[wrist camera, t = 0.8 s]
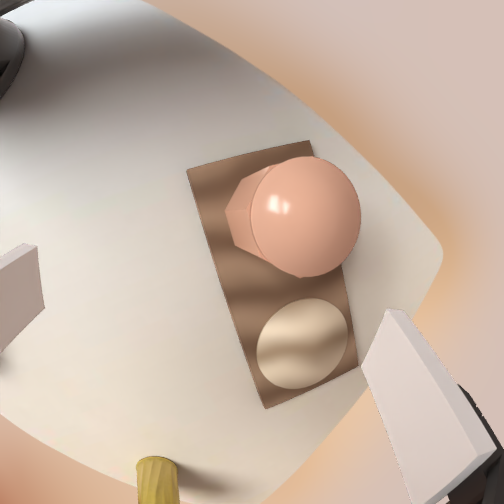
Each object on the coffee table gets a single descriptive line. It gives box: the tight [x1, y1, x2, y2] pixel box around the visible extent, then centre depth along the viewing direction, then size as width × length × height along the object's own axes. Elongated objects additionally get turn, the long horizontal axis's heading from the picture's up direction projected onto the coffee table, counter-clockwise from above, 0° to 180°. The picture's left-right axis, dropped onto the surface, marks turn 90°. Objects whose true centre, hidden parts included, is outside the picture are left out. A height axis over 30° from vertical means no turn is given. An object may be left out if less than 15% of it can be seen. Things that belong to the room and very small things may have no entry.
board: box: [186, 140, 359, 409], centre depth 34 cm, size 30×14×1 cm, turn 16°
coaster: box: [256, 298, 348, 389], centre depth 35 cm, size 12×12×1 cm
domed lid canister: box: [225, 156, 361, 278], centre depth 27 cm, size 9×9×10 cm
